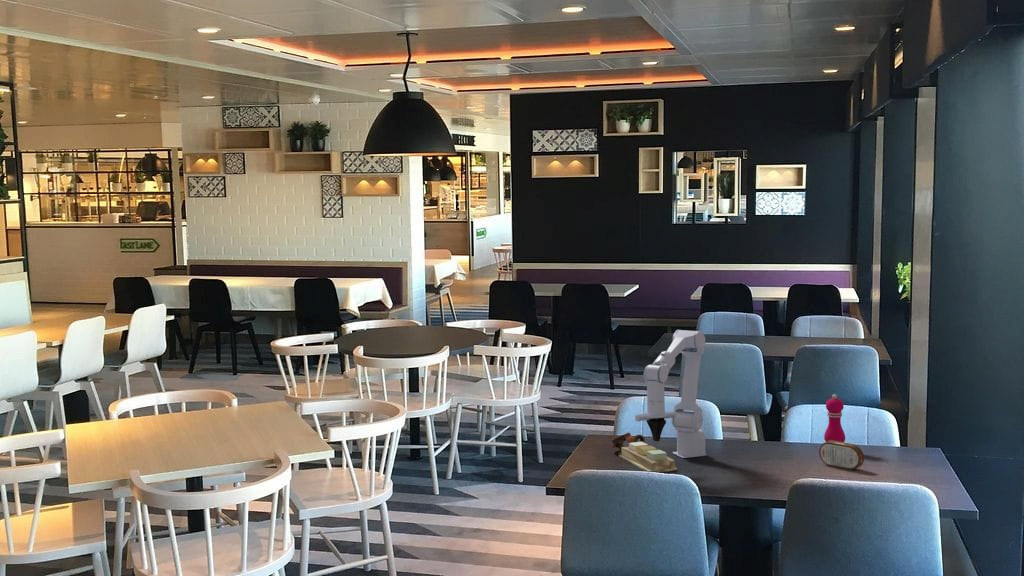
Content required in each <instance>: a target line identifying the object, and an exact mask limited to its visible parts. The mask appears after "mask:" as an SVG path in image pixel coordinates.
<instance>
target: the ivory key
mask: <svg viewBox="0 0 1024 576" xmlns="http://www.w3.org/2000/svg"><path fill="white" fill-rule="evenodd" d="M641 446H649V444H648V443H647V442H645V441H644V442H640V441H638V442H634V443H628V447H629V449H630V450H632V451H634V452H638V449H637V447H641Z"/></svg>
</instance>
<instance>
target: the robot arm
mask: <svg viewBox="0 0 1024 576" xmlns="http://www.w3.org/2000/svg"><path fill="white" fill-rule="evenodd" d="M705 347H706V337H705V334H704V333H703V331H702V330H698V331H697V330H687V329H685V330H683V329H676V330H675V332H674V333H673V335H672V342H671V344H670V345H669V346H668V348H667V350H665V351H661V353H660V354H659V355H658V356H657V358H656V359H655V360H654V361H653V363H652V364H648V365H645V368H644V369H643V370H644V371H643V379H644V381H645V382H644V383H645V387H646V395H647V396H646V398H647V399H646V401H647V402H646V403H647V404H646V405H647V406H646V407H647V409H646V411H647V412H645V413H644V412H643V413H639V414H635V415H634V421H635V422H638V423H639V422H642V421H646V424H647V425H648V427H649V429H650V432H651V435H652V436H651V437H652V440H653V441H654V442H660V440H661V436H662V432H663V431H664V428H665V425H666V424H667V420H666V419H671V425H672V427H674V430H675V431H676V451H672V454H673V455H675V456H677V457H679V458H681V459H685V458H696V457H706V456H707V454H706V435H705V432H704V431H703V430H702V426H703V423H704V418H703V409H702V407H700V406H699V405H698V404H697V401H696V400H697V394H698V385H699V383H698V382H699V374H700V367H701V356H703V355H704V353H705ZM680 354H682V355H683V356H685V364H684V371H683V383H682V391H681V400H680V401H679V402H678V403H677V404H676V405H674V408H673V411H666V410H665V409H666V408H665V401H666V400H665V382H666V381H667V380H668V376H669V373H670V370H671V369H672V367H674V365H675V363H676V357H677V356H678V355H680Z"/></svg>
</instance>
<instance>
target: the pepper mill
mask: <svg viewBox="0 0 1024 576" xmlns="http://www.w3.org/2000/svg"><path fill="white" fill-rule="evenodd" d="M825 408H826V410H827V414H826V415H827V417H828V424H827V426H826V429H825V431H824V434H823V439H824V441H825V442H827V441H829V440H833V441H839V442H844V443H845V441H846V435H845V431H844V429H843V427H842V424H841V423H842V421H841V420H842V418H841V417H843V415H842V414H843V412H842V411H843V410H844V402H843V401H842V400H841V399H839V398H838V394H836V393H834V394H832V396H831V398H829V399H828V400H827V401H826V403H825Z"/></svg>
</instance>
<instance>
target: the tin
mask: <svg viewBox="0 0 1024 576" xmlns="http://www.w3.org/2000/svg"><path fill="white" fill-rule="evenodd" d="M818 451H819V457H820V460H821V461H822V462H823V463H824V464H825V465H827V466H829V467H834V468H838V469H839V468H840V469H845V470H848V471H849V470H850V471H852V470H855V469H859V468H861V467H862V465H863V464H864V461H865V455H864V452H863V450H862V449H861V448H860V447H859V446H858V445H856V444H855V443H851V442H849V443H848V442H845V441H844V442H839V441H833V440H829V441H827V442H826V441H825V442H823V443H822V444H821V445H820V446H819V449H818Z"/></svg>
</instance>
